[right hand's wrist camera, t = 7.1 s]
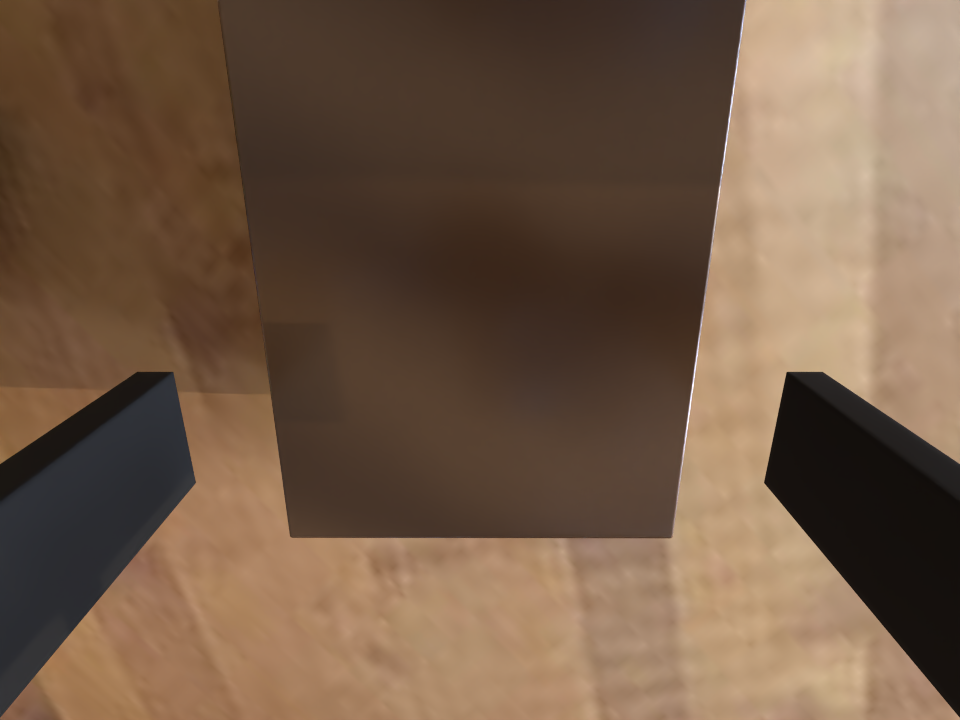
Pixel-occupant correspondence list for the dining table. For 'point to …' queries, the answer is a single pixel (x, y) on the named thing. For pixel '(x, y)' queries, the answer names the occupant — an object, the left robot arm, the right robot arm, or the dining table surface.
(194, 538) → the dining table surface
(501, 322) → the cabinet
